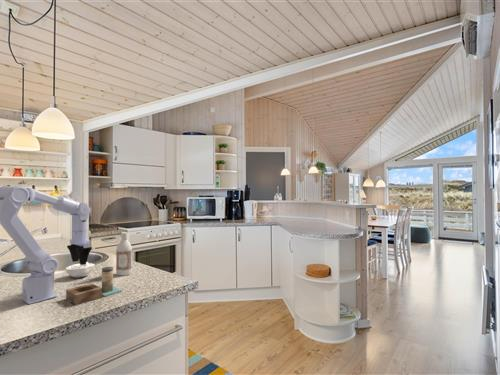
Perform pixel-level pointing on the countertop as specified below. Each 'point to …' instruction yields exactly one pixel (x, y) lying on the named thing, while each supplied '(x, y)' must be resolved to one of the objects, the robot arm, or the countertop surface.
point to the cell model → (79, 269)
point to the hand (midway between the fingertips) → (79, 262)
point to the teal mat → (111, 292)
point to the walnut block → (83, 293)
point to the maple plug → (107, 279)
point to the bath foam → (124, 256)
